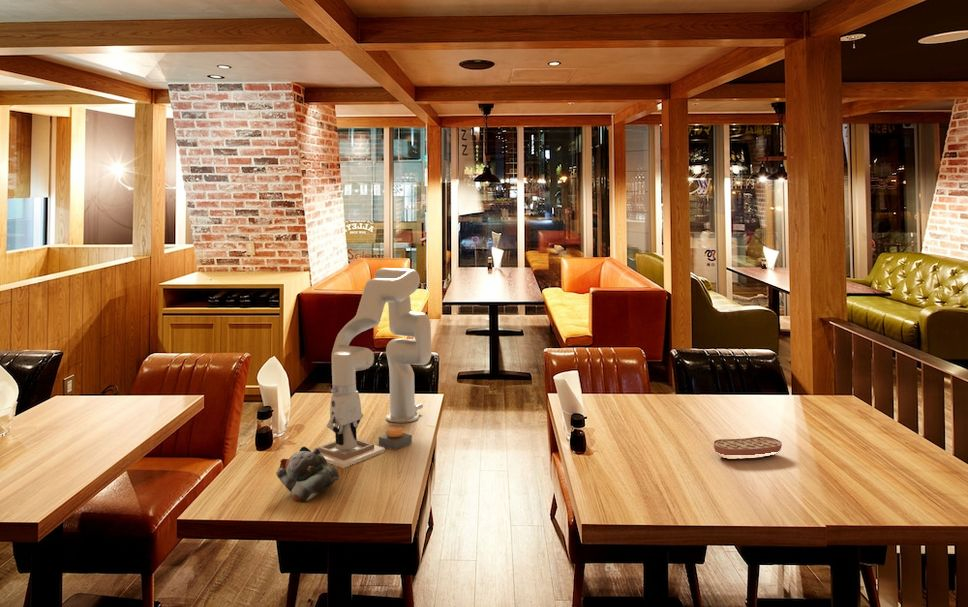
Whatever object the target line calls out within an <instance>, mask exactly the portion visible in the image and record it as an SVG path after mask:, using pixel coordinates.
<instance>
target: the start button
mask: <svg viewBox="0 0 968 607" xmlns="http://www.w3.org/2000/svg"><path fill="white" fill-rule="evenodd" d="M385 432H386V433H385V434H386V435H387V436H389V437H394V438H396V437H400V436H402V435H404V433H405V428H403V427H400V426H390V427H388V428H386V431H385Z"/></svg>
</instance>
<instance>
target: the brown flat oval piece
mask: <svg viewBox="0 0 968 607" xmlns="http://www.w3.org/2000/svg"><path fill="white" fill-rule="evenodd" d="M782 445H783V442H782V441H781V440H779V439H776V438H773V437H770V436H752V437H746V438H745V437H744V438H730V439H729V438H728V439H727V438H726V439H725V438H719V439H716V440H714V441H713V449H714V451H715V453H716V452H718V453H720V454H724V455H755V454H765V453H771V452H778V451H779V452H781V450H782ZM779 452H778V453H779Z"/></svg>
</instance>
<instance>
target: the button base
mask: <svg viewBox="0 0 968 607" xmlns="http://www.w3.org/2000/svg"><path fill="white" fill-rule="evenodd" d="M412 438H413V436H412V434H410V433H409V434H408V433H405V432H404V435H402V436H400V437H396V438H394V437H389V436H387V435H386V433H385V434H382V435H380V436H378V446H380V445H381V446H380V447H383V446H384V447H383V448H387V449H390V448H391V449H390V450H393V449H394V450H393V451H397V450H399V448H400V449H402V448H404V447H406V446H409V445H412V442H413V439H412Z"/></svg>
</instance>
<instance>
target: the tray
mask: <svg viewBox="0 0 968 607" xmlns="http://www.w3.org/2000/svg"><path fill="white" fill-rule="evenodd" d="M356 442H357V447H355V448H353V449H351V450H339V449H335V448H336V440H334V441H331V442H328V443H326V444H322V445H320V446H317V448H318V449H319V450H320V453H321V455H322V456H323V457H324V458H325V459H326V461H327V464H329V465H332V464H333V465H332V466H334V467H339V468H341V469H345V467H346V468H348V467H351V466H353V465H355V464H357V462H358V463H360V462H362V461H365V460H368V459H370V458H372V456H373V457H374V455H375V456H378V455H380V454H382V453H385V452H386V447H383V446H380V445H376V444H374V443H370V442H368V441H364V440H361V439H359V438H357V440H356ZM312 450H313V449H312ZM312 450H311V449H310V451H312ZM384 451H385V452H384ZM379 453H380V454H379ZM377 454H378V455H377ZM369 457H370V458H369ZM367 458H368V459H367ZM352 464H353V465H352ZM350 465H351V466H350Z"/></svg>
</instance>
